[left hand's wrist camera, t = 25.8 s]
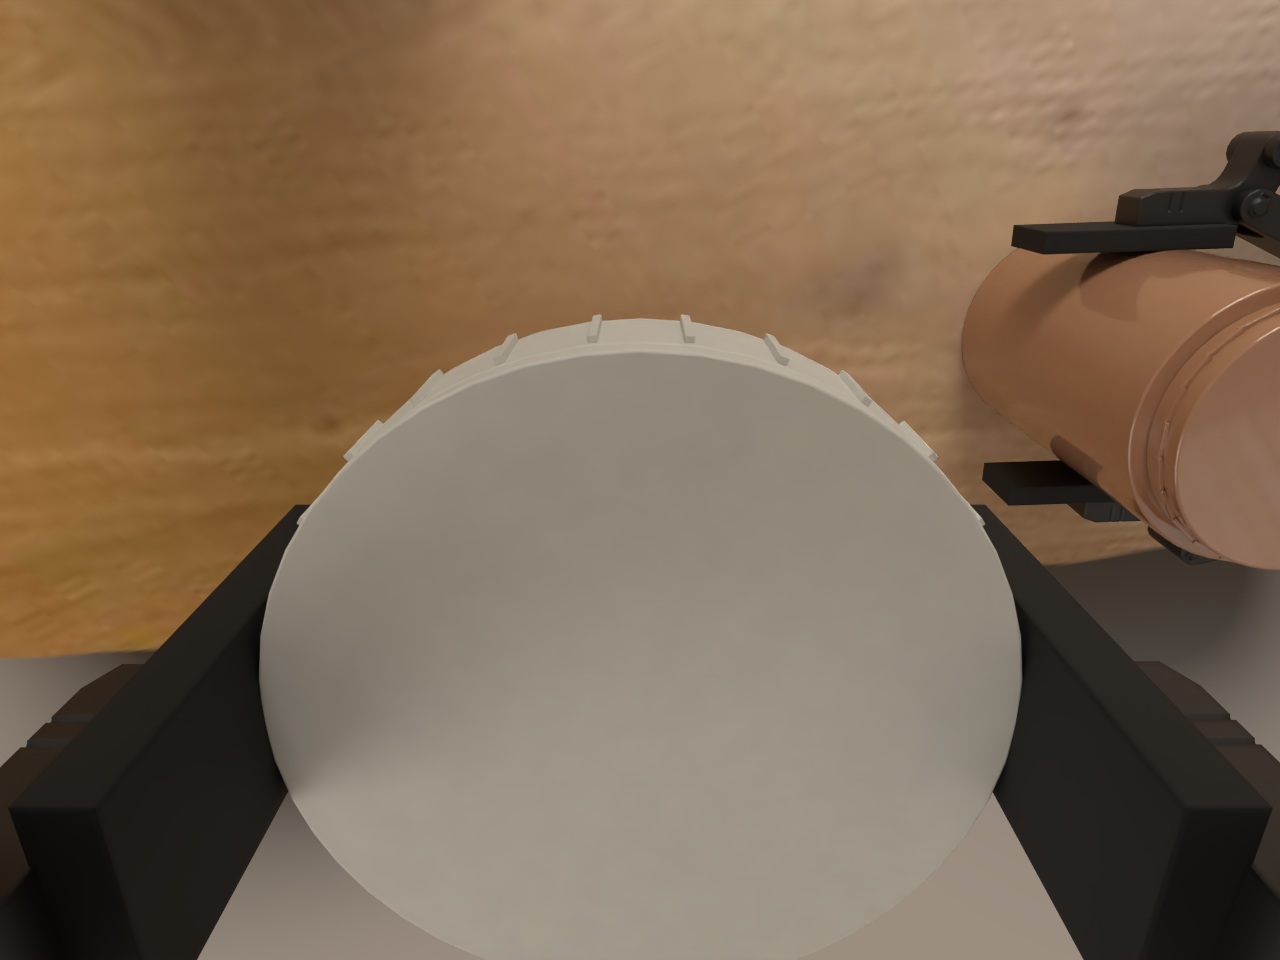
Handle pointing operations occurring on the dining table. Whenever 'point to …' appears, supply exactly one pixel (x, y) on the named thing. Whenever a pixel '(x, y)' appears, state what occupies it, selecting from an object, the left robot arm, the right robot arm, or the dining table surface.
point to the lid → (640, 652)
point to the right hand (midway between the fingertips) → (1011, 368)
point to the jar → (1145, 384)
